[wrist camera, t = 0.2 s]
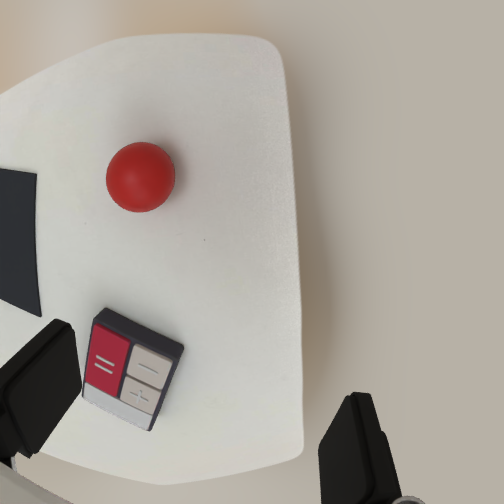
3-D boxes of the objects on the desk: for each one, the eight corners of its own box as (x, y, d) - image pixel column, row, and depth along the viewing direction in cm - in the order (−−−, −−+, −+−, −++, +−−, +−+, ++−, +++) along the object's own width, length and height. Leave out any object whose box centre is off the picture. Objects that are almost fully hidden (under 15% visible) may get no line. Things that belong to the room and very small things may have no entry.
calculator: (177, 362, 33) (148, 436, 37) (186, 342, 37) (157, 416, 41) (90, 319, 32) (78, 400, 36) (106, 304, 36) (91, 383, 40)
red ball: (130, 138, 29) (97, 138, 23) (189, 147, 29) (166, 147, 23) (122, 199, 31) (90, 212, 25) (178, 210, 31) (154, 226, 25)
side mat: (-23, 165, 31) (-25, 165, 31) (36, 173, 31) (34, 174, 31) (-16, 289, 38) (-17, 290, 37) (41, 316, 38) (40, 317, 37)
